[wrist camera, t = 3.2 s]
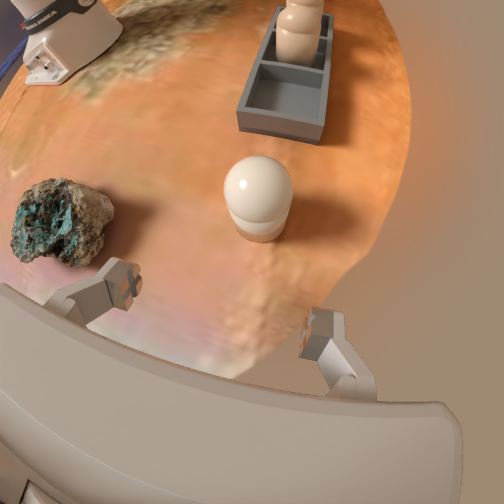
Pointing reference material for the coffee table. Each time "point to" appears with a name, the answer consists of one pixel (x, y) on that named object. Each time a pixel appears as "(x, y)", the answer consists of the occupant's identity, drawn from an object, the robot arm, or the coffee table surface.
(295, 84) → the carton
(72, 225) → the mineral specimen
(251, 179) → the cream round-topped peg
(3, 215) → the coffee table surface
